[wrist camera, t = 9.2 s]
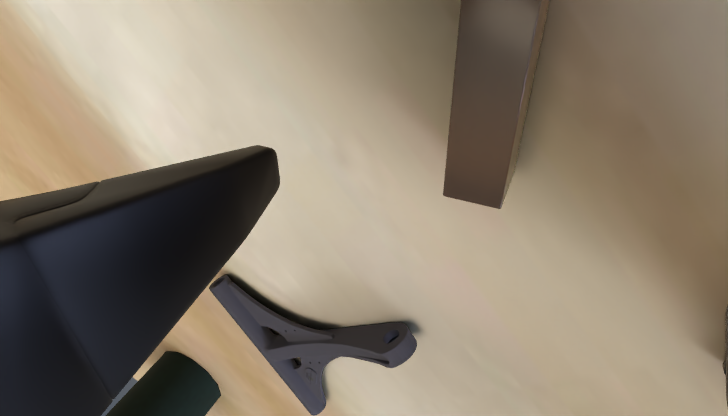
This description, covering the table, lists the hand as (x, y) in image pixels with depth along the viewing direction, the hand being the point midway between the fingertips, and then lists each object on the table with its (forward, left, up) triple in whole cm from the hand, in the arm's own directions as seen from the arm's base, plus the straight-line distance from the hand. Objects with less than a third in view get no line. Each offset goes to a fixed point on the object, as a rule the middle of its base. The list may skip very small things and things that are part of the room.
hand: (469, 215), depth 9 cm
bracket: (+4, +24, -11) cm, 27 cm away
